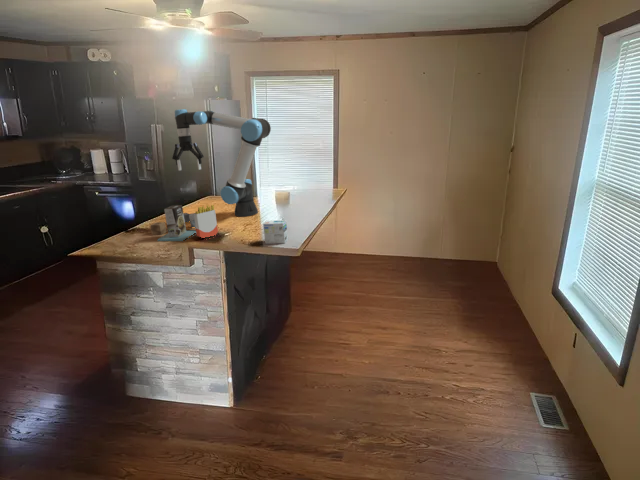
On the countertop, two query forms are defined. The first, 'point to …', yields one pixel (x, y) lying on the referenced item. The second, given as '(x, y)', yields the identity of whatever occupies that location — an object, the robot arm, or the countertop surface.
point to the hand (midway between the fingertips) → (189, 170)
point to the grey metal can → (192, 219)
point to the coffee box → (175, 221)
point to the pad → (180, 238)
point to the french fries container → (206, 222)
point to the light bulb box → (275, 232)
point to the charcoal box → (186, 217)
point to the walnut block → (158, 228)
